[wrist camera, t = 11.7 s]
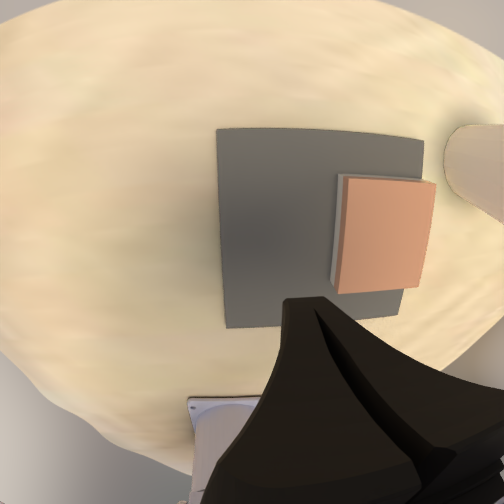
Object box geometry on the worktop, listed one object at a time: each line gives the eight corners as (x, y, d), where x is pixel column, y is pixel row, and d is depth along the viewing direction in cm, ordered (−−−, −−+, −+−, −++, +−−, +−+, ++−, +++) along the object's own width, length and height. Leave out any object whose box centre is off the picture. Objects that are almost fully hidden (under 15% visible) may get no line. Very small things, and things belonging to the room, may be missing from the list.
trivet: (394, 311, 22) (397, 315, 21) (226, 323, 21) (226, 328, 21) (419, 140, 17) (424, 140, 16) (217, 129, 16) (216, 129, 16)
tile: (329, 280, 20) (406, 275, 20) (337, 294, 18) (418, 287, 18) (338, 173, 17) (421, 178, 17) (348, 178, 15) (436, 184, 16)
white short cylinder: (493, 117, 16) (559, 127, 10) (496, 200, 19) (555, 228, 12) (432, 117, 16) (504, 123, 10) (438, 212, 19) (502, 249, 13)
